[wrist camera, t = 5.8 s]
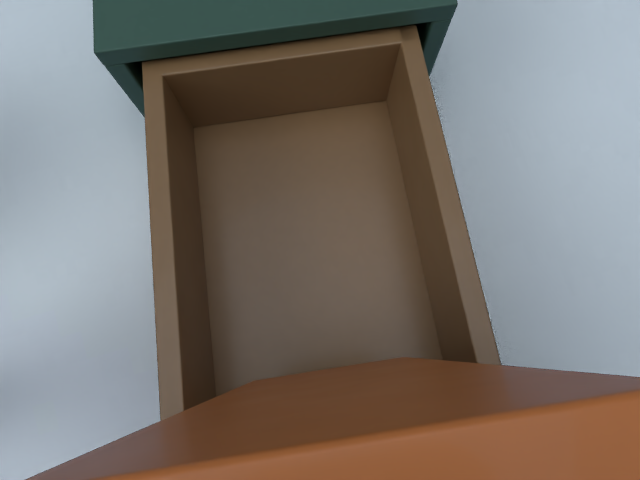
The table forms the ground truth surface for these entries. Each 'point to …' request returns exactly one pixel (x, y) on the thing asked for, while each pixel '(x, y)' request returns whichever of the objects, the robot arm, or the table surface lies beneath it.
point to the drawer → (303, 215)
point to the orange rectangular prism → (390, 428)
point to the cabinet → (245, 28)
